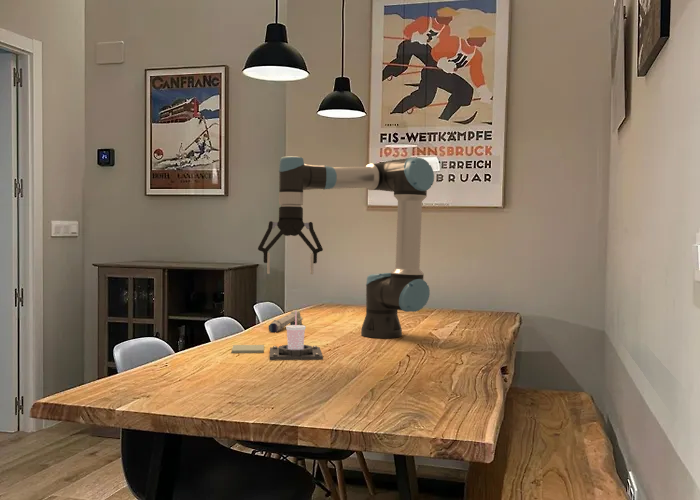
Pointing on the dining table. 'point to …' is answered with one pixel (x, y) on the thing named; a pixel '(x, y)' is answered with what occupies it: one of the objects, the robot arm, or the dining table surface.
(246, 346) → the pad
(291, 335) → the beverage cup
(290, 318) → the tan tube
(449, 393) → the dining table surface
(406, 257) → the robot arm
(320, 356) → the flange
